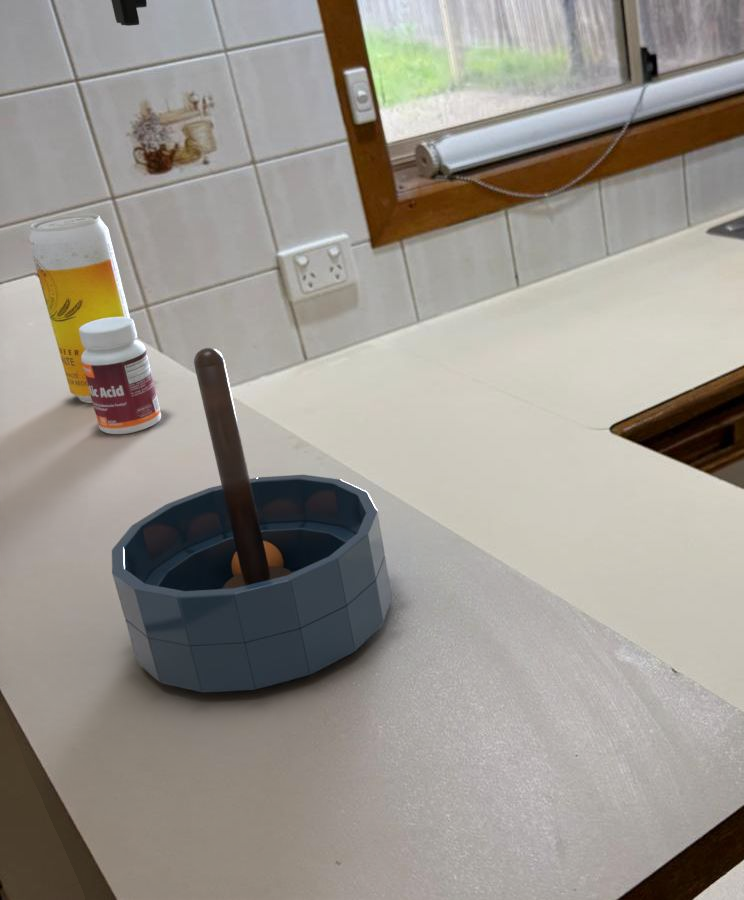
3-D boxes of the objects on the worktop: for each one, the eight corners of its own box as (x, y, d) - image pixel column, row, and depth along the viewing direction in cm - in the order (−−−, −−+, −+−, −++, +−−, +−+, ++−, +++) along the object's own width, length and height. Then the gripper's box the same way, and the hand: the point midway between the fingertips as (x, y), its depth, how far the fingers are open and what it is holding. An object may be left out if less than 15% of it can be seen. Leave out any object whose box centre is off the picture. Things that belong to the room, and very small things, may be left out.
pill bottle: (86, 433, 90) (59, 332, 87) (128, 411, 94) (103, 313, 91) (134, 437, 89) (108, 335, 85) (174, 414, 93) (151, 315, 89)
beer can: (70, 390, 100) (23, 220, 94) (142, 375, 103) (101, 209, 97) (75, 410, 95) (26, 233, 89) (151, 394, 98) (108, 220, 92)
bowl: (98, 709, 56) (66, 604, 53) (189, 573, 68) (166, 482, 65) (365, 694, 55) (345, 587, 53) (409, 560, 67) (394, 468, 65)
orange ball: (225, 580, 65) (223, 537, 64) (274, 569, 66) (272, 527, 65) (242, 604, 63) (239, 560, 61) (291, 592, 64) (290, 549, 63)
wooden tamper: (213, 628, 61) (148, 358, 55) (261, 592, 64) (203, 333, 58) (269, 640, 59) (208, 364, 53) (315, 603, 62) (262, 339, 56)
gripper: (115, -343, 58) (188, 17, 65) (-296, -359, 50) (-164, 49, 57) (140, -384, 52) (218, 19, 58) (-324, -409, 44) (-172, 55, 51)
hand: (29, 33), depth 58 cm, fingers open, 9 cm apart
